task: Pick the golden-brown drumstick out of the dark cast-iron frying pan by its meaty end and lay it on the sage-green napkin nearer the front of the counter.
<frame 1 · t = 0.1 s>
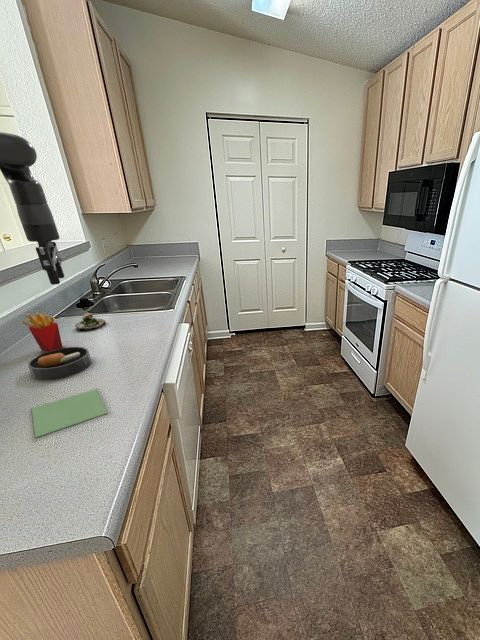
hand: (58, 280, 99), 30 cm above the counter, tool pointing down, fingers open, 8 cm apart
napkin: (69, 411, 91), on the counter
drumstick: (58, 361, 114), point 2 cm above the counter, tilted 80°, touching pan
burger: (91, 327, 150), on the counter
pan: (63, 367, 114), on the counter
french fries: (51, 350, 128), on the counter
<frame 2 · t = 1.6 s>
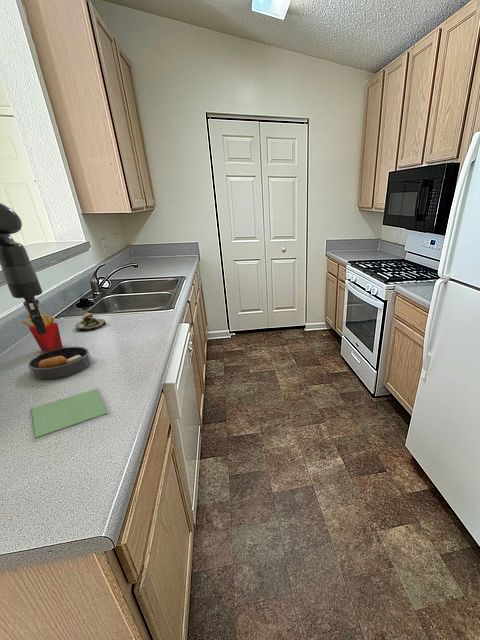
hand: (42, 330, 107), 14 cm above the counter, tool pointing down, fingers open, 8 cm apart
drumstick: (60, 366, 114), point 1 cm above the counter, tilted 12°, touching pan
everything else where it was.
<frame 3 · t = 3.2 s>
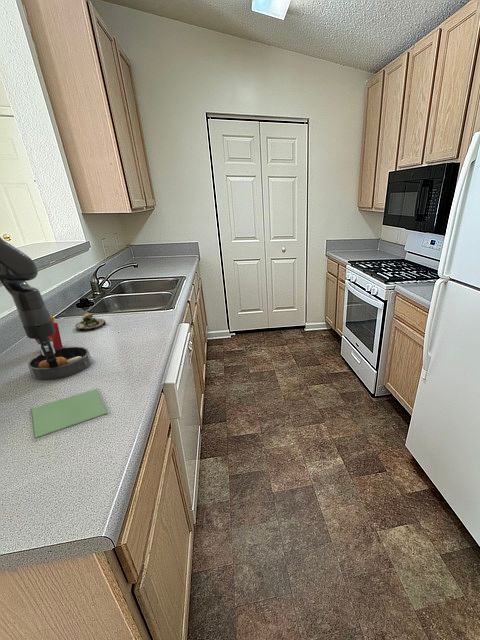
hand: (54, 367, 113), 1 cm above the counter, tool pointing down, fingers open, 6 cm apart
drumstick: (60, 366, 114), point 1 cm above the counter, tilted 32°, touching gripper, pan
everything else where it was.
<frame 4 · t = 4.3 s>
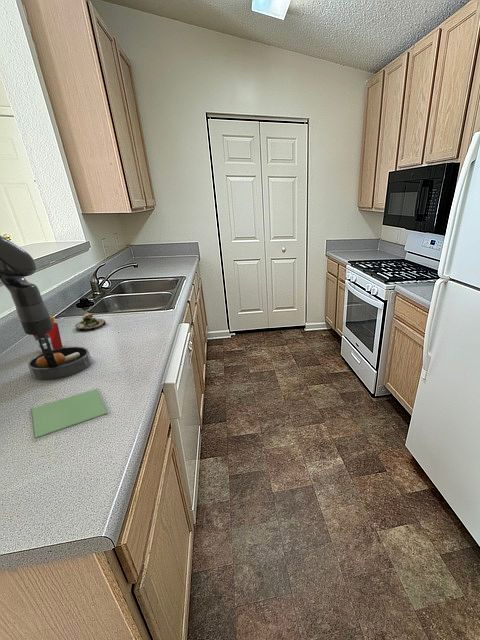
hand: (52, 365, 112), 2 cm above the counter, tool pointing down, fingers closed on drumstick, 4 cm apart
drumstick: (58, 363, 113), point 2 cm above the counter, tilted 12°, touching gripper
everything else where it was.
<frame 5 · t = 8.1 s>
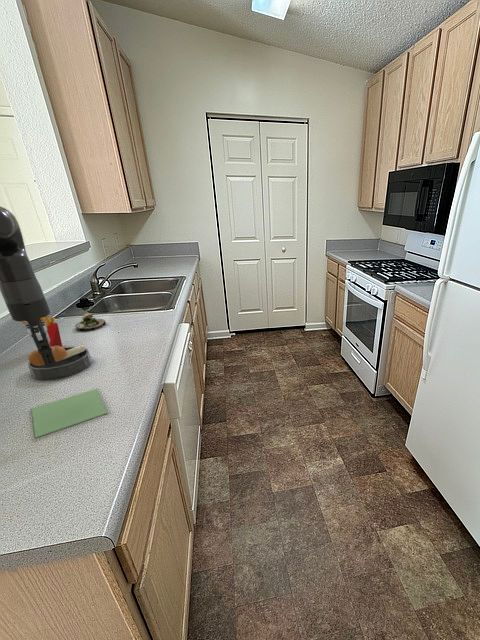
hand: (50, 362, 86), 14 cm above the counter, tool pointing down, fingers closed on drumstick, 4 cm apart
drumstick: (57, 360, 87), point 14 cm above the counter, tilted 12°, touching gripper
everything else where it was.
when the fingers open (0 cm above the counter, at t = 11.6 s): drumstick stays where it is and tips over, resting on napkin.
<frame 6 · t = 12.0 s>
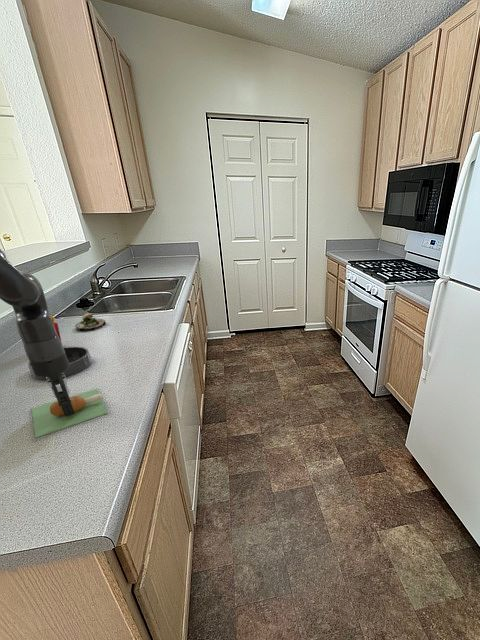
hand: (68, 408, 90), 1 cm above the counter, tool pointing down, fingers open, 7 cm apart
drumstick: (75, 406, 92), point 1 cm above the counter, tilted 45°, touching napkin
everything else where it was.
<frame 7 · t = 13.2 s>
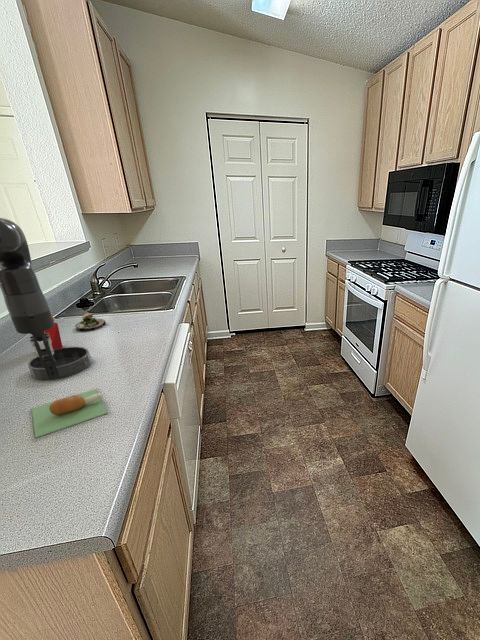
hand: (52, 370, 85), 13 cm above the counter, tool pointing down, fingers open, 8 cm apart
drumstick: (75, 407, 92), resting on napkin, tilted 25°
everything else where it was.
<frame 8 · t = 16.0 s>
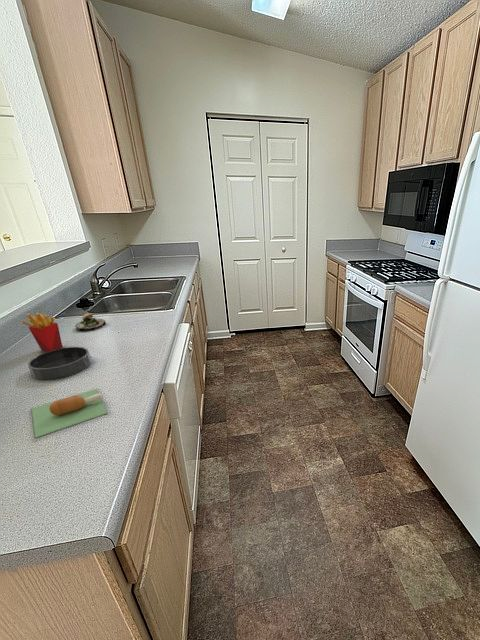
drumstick: (75, 406, 92), point 1 cm above the counter, tilted 31°, touching napkin
everything else where it was.
at the end: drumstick inside the target area on the napkin (1.6 cm from its centre), point 0.6 cm above the napkin's base; the gripper is holding nothing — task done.
